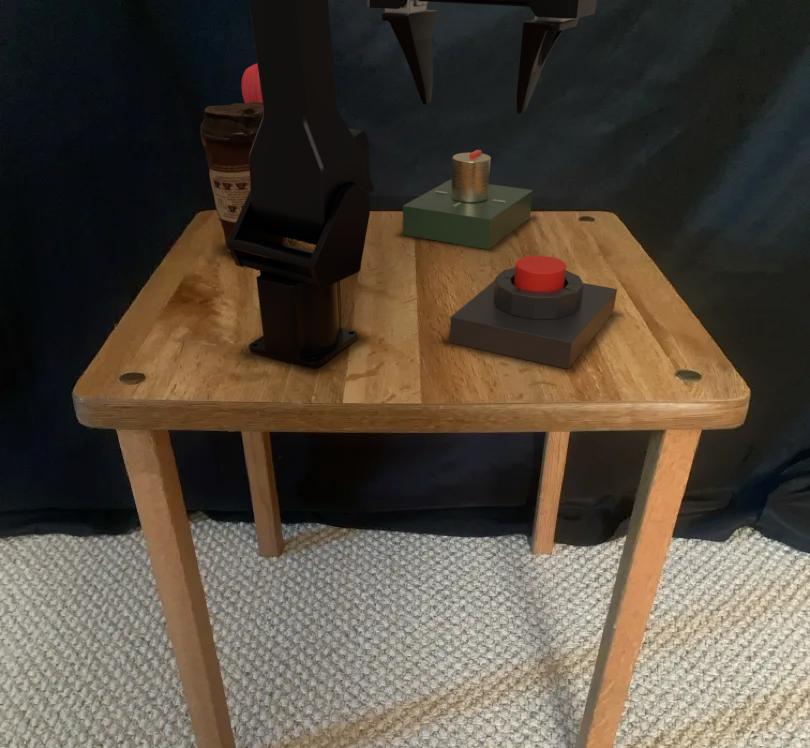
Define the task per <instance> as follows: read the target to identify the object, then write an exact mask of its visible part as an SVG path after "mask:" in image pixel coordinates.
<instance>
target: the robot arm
mask: <svg viewBox="0 0 810 748" xmlns="http://www.w3.org/2000/svg"><path fill="white" fill-rule="evenodd" d="M597 1H598V0H366V8H370V9H371V8H372V9H384V12H380V21H384V22H388V23H389V25H390V27H391V29H392V31H393V33H394V35H395V37H396V39H397V41H398V44H399V46H400V48H401V50H402V52H403V54H404V57H405V59H406V61H407V65H408V68H409V70H410V73H411V76H412V78H413V81H414V84H415V86H416V89H417V92H418V95H419V98H420V100H421V103H422V104H423V105H429V104H431V103H432V99H433V97H432V95H433V86H434V69H433V68H434V65H433V64H434V61H433V58H434V57H433V55H434V54H433V34H434V29H435V28H434V27H435V25H436V22H437V17H438V15H439V10H437V9H427V8H428V5H429V4H430V3H446V4H466V5H467V4H469V5H485V6H503V7H505V6H507V7H526V8H530V10H531V11H532V13H533V14H534V19H530V20H527V21H523V23H522V29H521V30H522V32H521V43H520V54H519V65H518V75H517V76H518V77H517V88H516V113H517V114H518V115H522V114H524V113H525V112H526V111H527V109H528V105H529V103H530V101H531V98H532V96H533V93H534V91H535V89H536V86H537V83H538V81H539V78H540V75H541V73H542V70H543V68H544V66H545V63H546V61H547V59H548V57H549V55H550V53H551V51H552V50H553V47H554V45H556V42H557V41H558V39H559V38H560V36H561V35H562V33H563V32H564V31H565V30H568V29H571V28H574V27H577V25H578V22H579V19H580V18H585V17H588V16H592V15H595V14H596V9H597ZM248 7H249V14H250V20H251V27H252V34H253V42H254V48H255V49H254V50H255V56H256V63H257V64H258V72H259V79H260V86H261V93H262V100H263V113H264V114H263V118H262V121H261V123H260V126H259V129H258V132H257V134H256V137H255V140H254V143H253V145H252V148H251V151H250V154H249V165H250V189H251V190H250V192H249V194H248V197H247V199H246V201H245V203H244V205H243V208H242V210H241V212H240V214H239V217H238V219H237V221H236V223H235V225H234V228H233V230H232V232H231V234H230V236H229V239H228V241H227V245H228V248H229V250H230V252H229V253H230V255H231V257H232V259H233V261H234V262H233V263H234V264H235V266H237V267H240V268H248V269H252V270H256V271H259V275H258V276H256V277H255V279H256V285H257V286H256V287H257V288H256V289H257V296H258V304H259V311H260V318H261V319H260V321H261V328H262V329H261V330H262V335H261V336H260V337H258V338H257V339H255V340H254V341H252V342H251V343H249V344H248V349H249V350H248V351H249V352H250V353H252V354H257V355H260V356H264V357H268V358H272V359H276V360H280V361H284V362H288V363H292V364H295V365H299V366H304V367H308V368H312V369H313V368H319V367H321V366H322V365H324V364H325V363H326V362H327V361H329V360H330V359H332V358H333V357H335V355H337V354H338V353H340V352H341V351H343V350H344V349H346V348H347V347H348V346H350V345H351V344H352V343H353V342H355V341H356V340H357V339H358V338H359V337H358V332H357V331H356V330H353V329H349V328H345V327H344V328H343V327H342V325H343V323H342V322H343V319H342V299H341V298H342V297H341V281H343V280H345V279H347V278H348V277H351V276H353V275H355V274H357V273H359V272H360V271H361V267H362V263H363V256H364V250H365V244H366V239H367V233H368V226H369V221H370V214H371V198H370V193H374V191H375V188H374V187H375V186H374V184H373V180H372V177H371V170H370V153H371V149H370V148H371V144H370V141H369V138H368V134H367V132H366V131H365V130H360V129H354V128H349V127H348V125H347V124H346V121H345V120H344V118H343V117H342V114H341V113H340V111H339V109H338V108H339V107H338V103H337V95H336V94H337V93H336V92H337V91H336V82H335V80H336V79H335V69H334V58H333V45H332V33H331V20H330V11H329V10H330V9H329V8H330V7H329V0H248ZM283 237H285V238H287V239H288V240H289V239H290V240H294V241H298V242H302V243H305V244H310V245H315V247H314V250H311V249H308V248H305V247H304V248H303V247H300V246H297V245H292V244H289V245H288V244H284V243H283Z"/></svg>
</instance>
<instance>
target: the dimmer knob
mask: <svg viewBox="0 0 810 748" xmlns="http://www.w3.org/2000/svg"><path fill="white" fill-rule="evenodd" d="M491 158H492V157H491V156H490V155H489V154H486V153H483V152H482V150H481V149H476V150H474V151H472V152H461V153H460V152H459V153H456V154H454V155H453V156H452V161H451V162H452V164H451V179H452V188H451V197H452V199H454V200H456V201H460V202H481V201H485V200H487V199H488V194H489V184H490V177H491V164H492V163H491V161H492V159H491Z"/></svg>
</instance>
